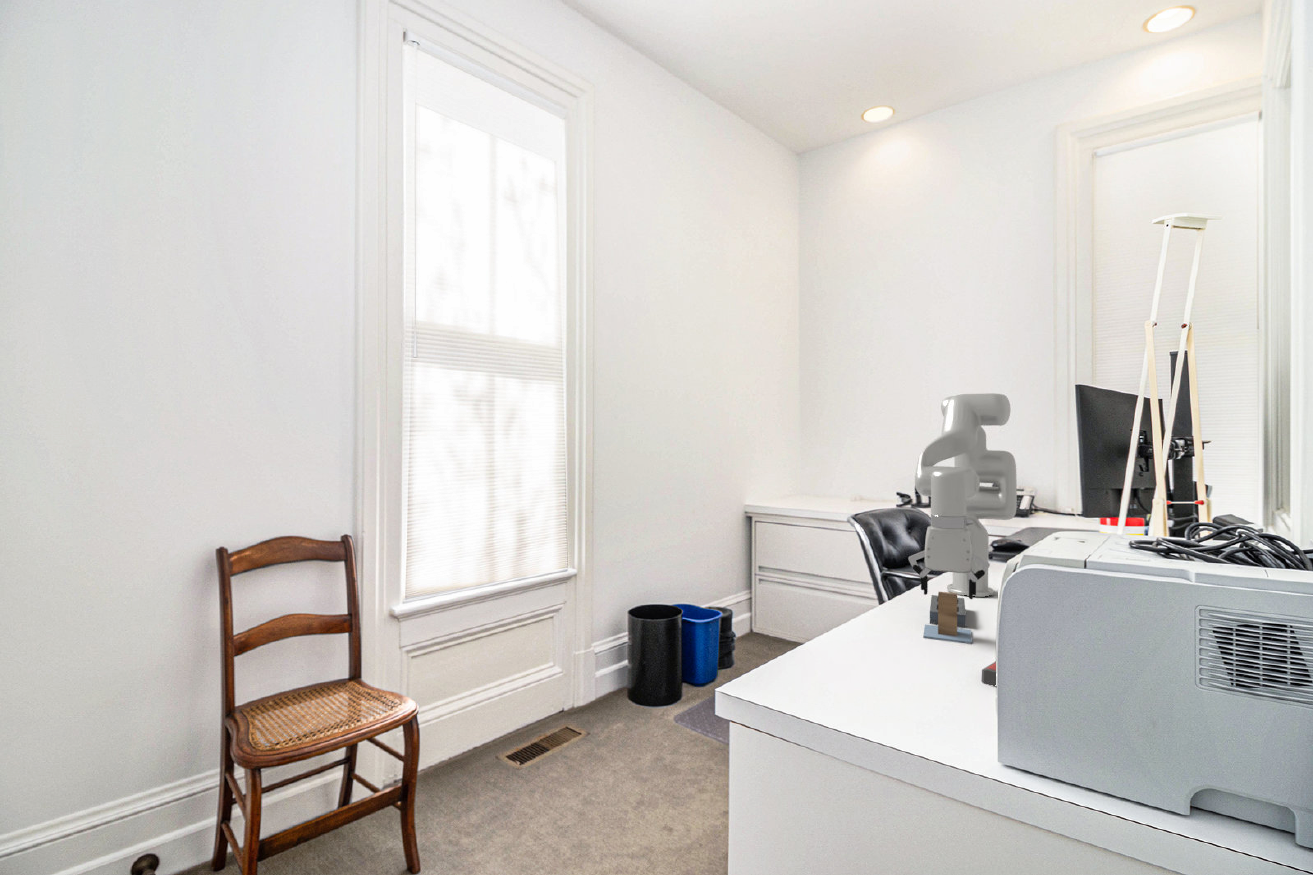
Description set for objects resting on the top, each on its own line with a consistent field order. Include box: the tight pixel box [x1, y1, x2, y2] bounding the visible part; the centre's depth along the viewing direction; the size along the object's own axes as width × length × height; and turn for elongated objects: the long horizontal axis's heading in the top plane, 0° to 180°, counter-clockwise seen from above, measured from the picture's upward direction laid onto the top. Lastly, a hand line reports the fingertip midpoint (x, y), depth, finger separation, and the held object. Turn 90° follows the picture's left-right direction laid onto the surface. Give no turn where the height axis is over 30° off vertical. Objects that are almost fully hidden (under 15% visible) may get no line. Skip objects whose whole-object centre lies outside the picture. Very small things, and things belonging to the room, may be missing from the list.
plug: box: [937, 591, 958, 636], centre depth 151 cm, size 4×4×9 cm
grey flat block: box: [929, 594, 967, 628], centre depth 166 cm, size 18×8×3 cm, turn 155°
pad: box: [922, 624, 973, 645], centre depth 151 cm, size 10×10×1 cm
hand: (947, 595), depth 151 cm, fingers open, 9 cm apart
